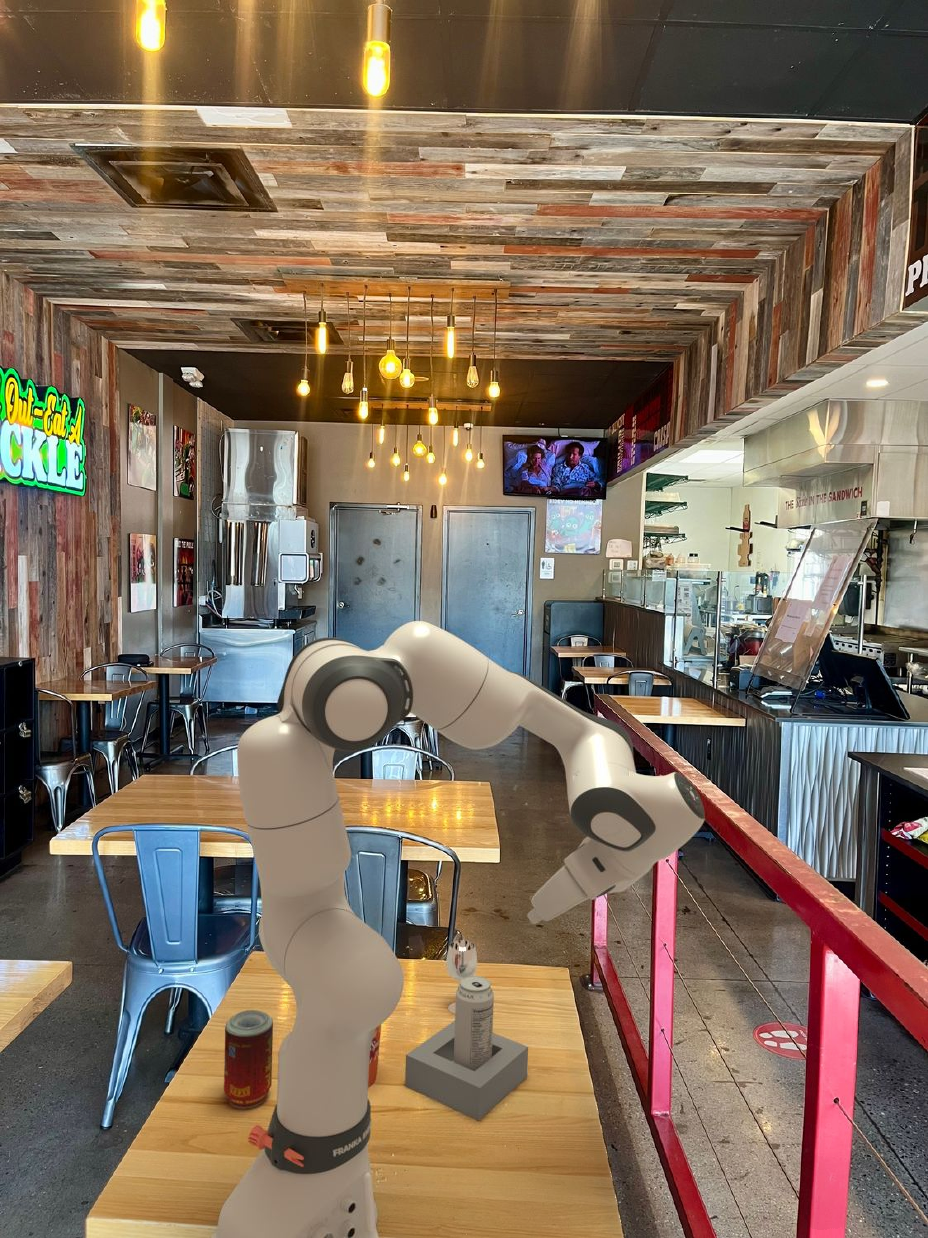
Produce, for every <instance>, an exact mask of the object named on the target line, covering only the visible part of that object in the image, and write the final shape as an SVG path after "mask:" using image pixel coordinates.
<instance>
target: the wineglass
mask: <svg viewBox="0 0 928 1238" xmlns="http://www.w3.org/2000/svg"><path fill="white" fill-rule="evenodd" d="M447 950H448V951H447V954H446V961H445V964H446V965H445V966H446V972H447V974H448V975H449V976H450V978H452V979H454V980H456V981H458V983H457V988H458V987H459V986H460V981H461V980H462V979H463V978H465V977H468V976H475V975H476V971H477V968H478V957H477V955H478V954H477V951H476V945H475V943H473V942H471V941H470V940H463V939H458V940H454V941H451V942H450V945H449V946H448V949H447ZM455 1006H456V1001H454V1002H452V1003H450V1004H449V1005H448V1007H447V1010H448V1011H449V1012H450V1013H451V1014H453V1015H455Z"/></svg>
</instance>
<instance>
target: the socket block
mask: <svg viewBox="0 0 928 1238" xmlns="http://www.w3.org/2000/svg"><path fill="white" fill-rule="evenodd" d="M454 1036H455V1020H453V1021H452V1022H450V1023H449V1024H447V1025H446V1026H445V1027H443V1028H442V1029H441V1030H439V1031H438V1032H436V1033H435V1034H433V1035H432V1036H430V1037H429V1038H428V1039H426V1040H425V1041H423V1042H421V1043H420V1044H419V1045H418V1046H416V1047H415V1048H414V1049H412V1050H411V1051H409V1052H407V1053H406V1054H405V1068H404V1069H405V1072H404V1074H405V1075H404V1086H405V1087H407V1088H409V1089H411V1090H413V1091H415V1092H417V1093H419V1094H421V1095H423V1096H426V1097H428V1098H430V1099H431V1100H434V1101H436V1102H439V1103H440V1104H442V1105H444V1106H447V1107H449V1108H451V1109H453V1110H455V1111H456V1112H459V1113H461V1114H463V1115H465V1116H468V1117H469V1118H472V1119H474V1120H476V1121H481V1119H483V1118H484V1117H485V1116H486V1115H487V1114H488V1113H490V1111H492V1110H493V1108H494V1107H495V1108H496V1106H497V1105H498V1104H499V1103H500V1102H502V1101H503V1099H505V1098H506V1097H507V1096H508V1095H509V1094H510V1093H511V1092H512V1091H514V1089H516V1088H517V1087H518V1086H519V1085H520V1084H521V1083H523V1081H524V1080H526V1079H527V1078H528V1065H529V1064H528V1062H529V1061H528V1060H529V1046H528V1045H525V1044H522V1043H520V1042H518V1041H514V1040H513V1039H510V1038H507V1037H504V1036H502V1035H500V1034H498V1033H495V1032H493V1034H492V1058H490V1059H489V1060H488V1061H487V1062H485V1063H484V1064H483V1065H482V1066H481V1067H479V1068H478V1069H477V1070H476V1071H473V1070H470V1069H468V1068H466V1067H464V1066H461V1065H459V1064H457V1063H454Z"/></svg>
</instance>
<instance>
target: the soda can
mask: <svg viewBox="0 0 928 1238" xmlns="http://www.w3.org/2000/svg"><path fill="white" fill-rule="evenodd" d="M224 1027H225V1028H224V1072H223V1073H224V1075H223V1090H224V1094H225V1095H226V1097H227V1099H228V1100H227V1101H228V1103H229V1104H230V1105H231V1106H232V1107H235V1108H237V1109H251V1108H255V1107H257V1106H260V1105H261V1104H262V1103H264V1102H265V1100H266V1099H267V1095H268V1093H269V1091H270V1088H272V1084H273V1082H272V1080H273V1079H272V1078H273V1077H272V1076H273V1075H272V1074H273V1070H272V1069H273V1044H274V1043H273V1041H274V1040H273V1037H274V1036H273V1034H274V1033H273V1032H274V1022H273V1018H272V1017H271V1015H270V1014H268V1013H266V1012H264V1011H261V1010H258V1009H246V1010H242V1011H240V1012H238V1013H236V1014H235V1015H233V1016H231V1017H230V1018H229V1019H228V1020H227V1021H226V1023H225V1026H224Z"/></svg>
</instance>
